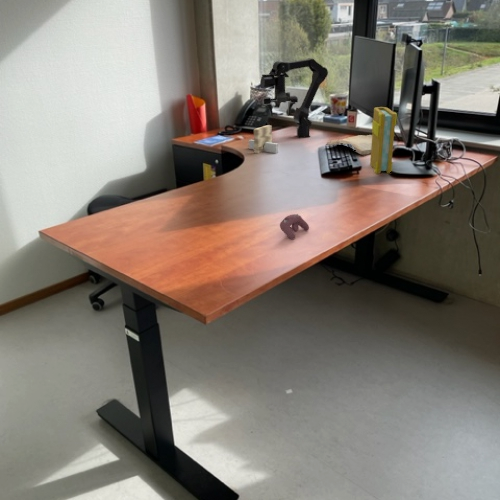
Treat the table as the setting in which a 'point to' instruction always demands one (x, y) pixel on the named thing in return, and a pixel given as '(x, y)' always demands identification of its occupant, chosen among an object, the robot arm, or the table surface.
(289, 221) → the video game controller
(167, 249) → the table surface
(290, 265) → the table surface
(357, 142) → the beige piece
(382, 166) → the book
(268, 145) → the light grey slotted rail
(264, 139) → the birch slotted plate
